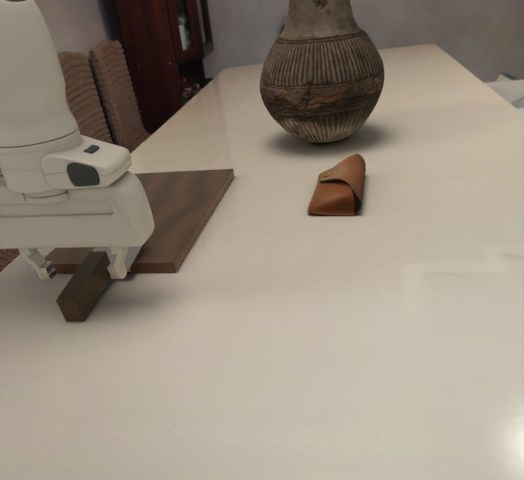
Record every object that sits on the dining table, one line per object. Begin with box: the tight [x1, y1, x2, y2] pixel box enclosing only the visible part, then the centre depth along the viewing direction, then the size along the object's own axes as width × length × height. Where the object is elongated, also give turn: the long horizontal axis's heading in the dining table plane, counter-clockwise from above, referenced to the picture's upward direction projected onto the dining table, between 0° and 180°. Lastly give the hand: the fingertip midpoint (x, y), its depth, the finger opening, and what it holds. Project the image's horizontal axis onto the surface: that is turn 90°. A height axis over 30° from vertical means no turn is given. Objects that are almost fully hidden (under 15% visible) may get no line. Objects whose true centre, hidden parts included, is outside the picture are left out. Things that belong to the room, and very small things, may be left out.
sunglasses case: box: [306, 152, 367, 217], centre depth 86 cm, size 18×7×7 cm
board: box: [44, 168, 235, 274], centre depth 87 cm, size 20×37×2 cm, turn 170°
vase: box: [259, 0, 386, 144], centre depth 103 cm, size 25×25×30 cm
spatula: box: [55, 241, 147, 323], centre depth 68 cm, size 18×7×3 cm, turn 170°
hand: (83, 277), depth 65 cm, fingers open, 8 cm apart
